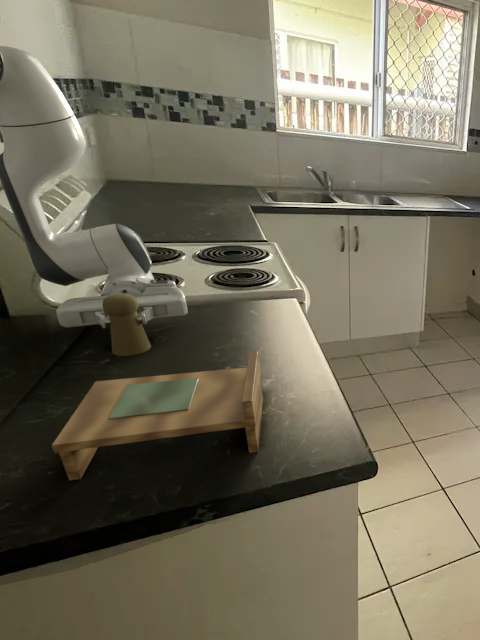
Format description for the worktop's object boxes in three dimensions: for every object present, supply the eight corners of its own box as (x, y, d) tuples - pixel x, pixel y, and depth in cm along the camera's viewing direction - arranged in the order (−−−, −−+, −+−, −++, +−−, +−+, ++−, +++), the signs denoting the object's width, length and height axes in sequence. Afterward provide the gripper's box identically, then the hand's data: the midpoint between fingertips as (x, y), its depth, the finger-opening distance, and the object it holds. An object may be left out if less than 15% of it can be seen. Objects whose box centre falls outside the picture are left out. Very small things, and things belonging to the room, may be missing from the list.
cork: (115, 344, 93) (101, 291, 89) (153, 340, 96) (141, 289, 91) (109, 357, 88) (93, 302, 84) (148, 353, 91) (135, 300, 87)
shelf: (65, 483, 60) (43, 424, 56) (105, 414, 73) (90, 363, 69) (259, 453, 68) (251, 400, 65) (264, 396, 82) (258, 350, 78)
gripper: (58, 288, 93) (44, 313, 82) (183, 279, 103) (184, 300, 93) (67, 318, 95) (55, 346, 85) (188, 306, 106) (190, 330, 96)
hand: (124, 322), depth 89 cm, fingers closed on cork, 4 cm apart
